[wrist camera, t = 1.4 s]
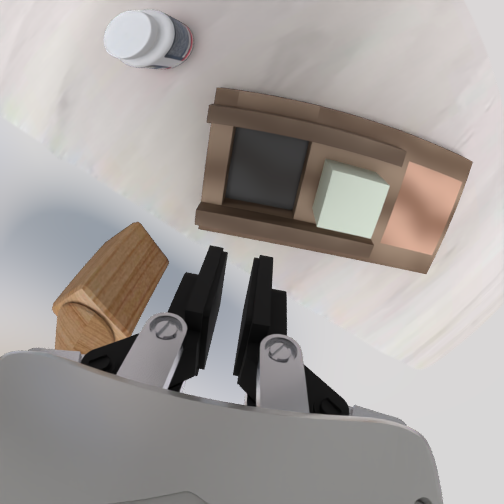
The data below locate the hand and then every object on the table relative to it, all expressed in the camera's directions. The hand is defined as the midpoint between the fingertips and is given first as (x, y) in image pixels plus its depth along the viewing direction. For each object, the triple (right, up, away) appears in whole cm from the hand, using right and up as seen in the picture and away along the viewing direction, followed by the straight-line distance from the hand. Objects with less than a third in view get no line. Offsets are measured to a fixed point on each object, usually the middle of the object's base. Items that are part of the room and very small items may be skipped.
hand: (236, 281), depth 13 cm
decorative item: (-13, +1, +23) cm, 27 cm away
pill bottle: (-7, +21, +11) cm, 25 cm away
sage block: (+9, +7, +14) cm, 18 cm away
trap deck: (+9, +8, +17) cm, 21 cm away
